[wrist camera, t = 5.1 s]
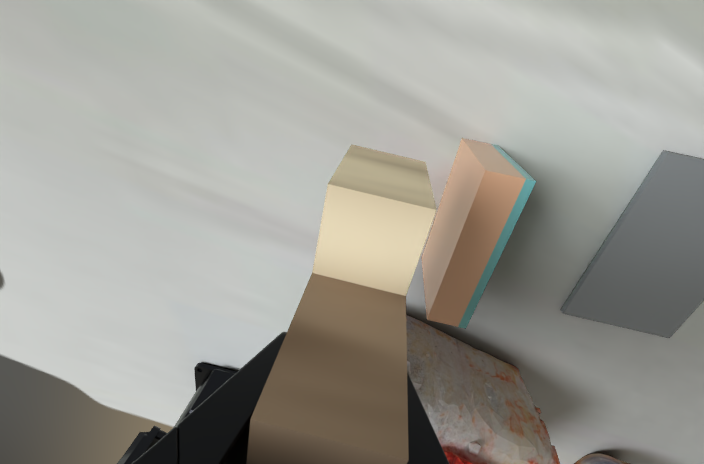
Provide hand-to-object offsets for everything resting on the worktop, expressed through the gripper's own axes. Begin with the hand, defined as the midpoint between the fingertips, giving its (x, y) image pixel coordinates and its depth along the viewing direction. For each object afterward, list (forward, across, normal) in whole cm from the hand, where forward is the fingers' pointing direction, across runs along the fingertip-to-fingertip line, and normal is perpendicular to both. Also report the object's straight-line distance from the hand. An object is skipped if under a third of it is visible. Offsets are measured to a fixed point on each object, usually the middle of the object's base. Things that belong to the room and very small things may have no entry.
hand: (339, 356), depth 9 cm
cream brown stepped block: (+5, 0, 0) cm, 5 cm away
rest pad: (+13, -18, 0) cm, 22 cm away
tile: (+13, -5, 0) cm, 14 cm away
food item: (+13, -8, +12) cm, 20 cm away
